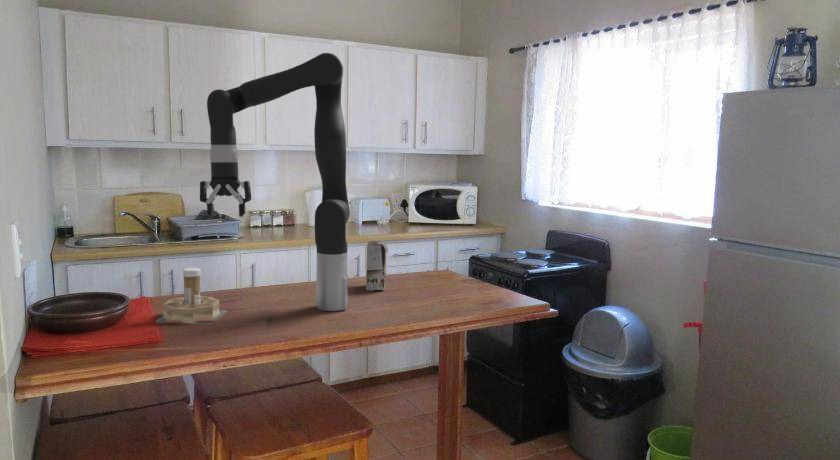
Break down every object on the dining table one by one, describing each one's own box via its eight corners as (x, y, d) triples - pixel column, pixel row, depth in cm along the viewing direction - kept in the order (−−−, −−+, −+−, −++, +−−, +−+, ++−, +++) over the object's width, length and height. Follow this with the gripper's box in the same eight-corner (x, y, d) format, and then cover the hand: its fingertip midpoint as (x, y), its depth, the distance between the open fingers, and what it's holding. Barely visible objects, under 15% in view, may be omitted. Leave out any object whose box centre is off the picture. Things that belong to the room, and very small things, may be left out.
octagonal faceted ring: (223, 310, 174) (223, 297, 174) (208, 323, 161) (207, 309, 160) (176, 309, 174) (176, 295, 174) (157, 322, 161) (156, 308, 160)
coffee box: (384, 291, 207) (385, 245, 204) (365, 290, 207) (366, 244, 204) (386, 285, 216) (387, 241, 213) (368, 284, 216) (369, 240, 214)
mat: (228, 312, 175) (228, 310, 175) (212, 326, 161) (212, 324, 161) (172, 310, 174) (172, 308, 174) (152, 324, 160) (152, 322, 160)
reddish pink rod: (214, 321, 163) (214, 318, 163) (214, 322, 162) (214, 319, 162) (166, 322, 161) (166, 319, 161) (165, 323, 160) (165, 320, 160)
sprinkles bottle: (203, 317, 167) (202, 269, 165) (185, 319, 164) (185, 270, 163) (199, 313, 171) (198, 266, 169) (182, 315, 168) (181, 268, 167)
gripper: (252, 160, 177) (254, 215, 179) (203, 160, 177) (205, 215, 179) (246, 161, 170) (248, 218, 172) (195, 161, 169) (197, 218, 171)
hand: (226, 216), depth 175 cm, fingers open, 8 cm apart
